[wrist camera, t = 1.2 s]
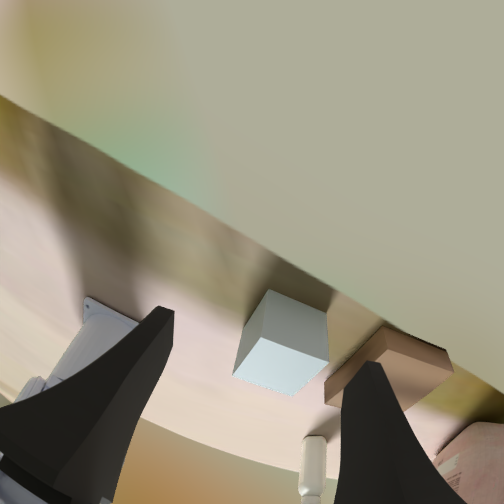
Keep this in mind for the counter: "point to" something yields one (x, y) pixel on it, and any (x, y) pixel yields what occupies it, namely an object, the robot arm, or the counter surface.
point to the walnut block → (395, 367)
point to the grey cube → (282, 344)
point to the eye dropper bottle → (312, 469)
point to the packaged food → (475, 463)
